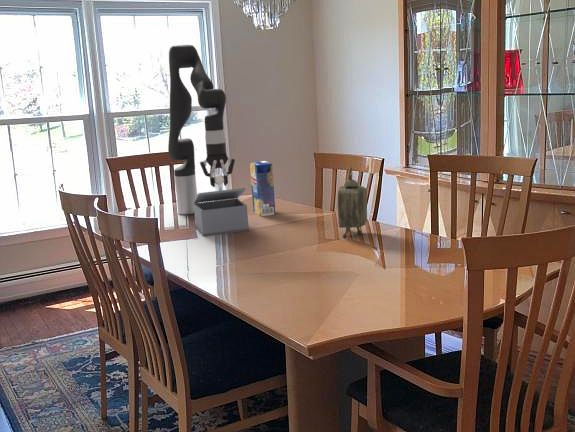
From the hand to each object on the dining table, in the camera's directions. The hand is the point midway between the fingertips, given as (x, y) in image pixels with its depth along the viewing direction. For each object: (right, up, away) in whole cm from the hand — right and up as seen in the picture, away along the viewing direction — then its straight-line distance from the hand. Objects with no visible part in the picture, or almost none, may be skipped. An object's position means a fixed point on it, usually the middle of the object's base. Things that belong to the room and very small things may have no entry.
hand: (219, 185), depth 253 cm
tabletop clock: (+51, -19, -14) cm, 56 cm away
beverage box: (+16, -11, +31) cm, 36 cm away
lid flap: (-1, -4, +4) cm, 6 cm away
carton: (0, -17, +6) cm, 18 cm away
